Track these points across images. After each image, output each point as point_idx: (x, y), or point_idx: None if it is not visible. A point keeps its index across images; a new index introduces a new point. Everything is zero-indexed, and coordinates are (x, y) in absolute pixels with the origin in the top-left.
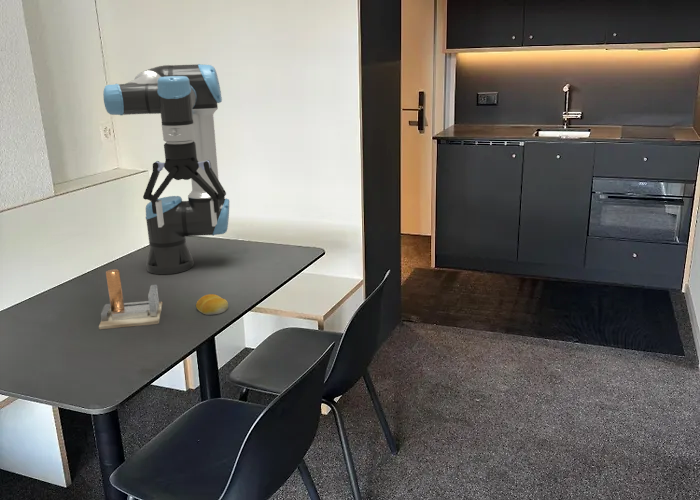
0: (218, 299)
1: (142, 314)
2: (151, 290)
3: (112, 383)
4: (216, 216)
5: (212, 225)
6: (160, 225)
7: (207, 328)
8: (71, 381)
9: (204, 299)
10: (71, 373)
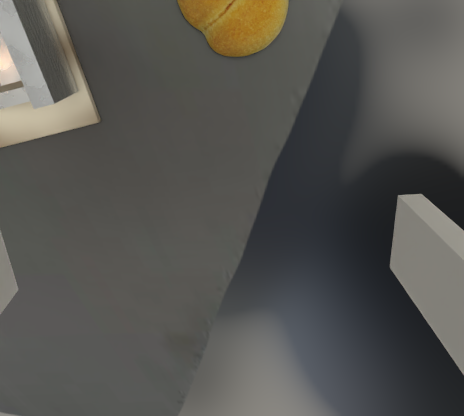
0: (263, 10)
1: None
2: (18, 55)
3: (135, 381)
4: (449, 221)
5: (395, 270)
6: (8, 298)
7: (253, 149)
8: (53, 378)
9: (211, 7)
10: (33, 354)
